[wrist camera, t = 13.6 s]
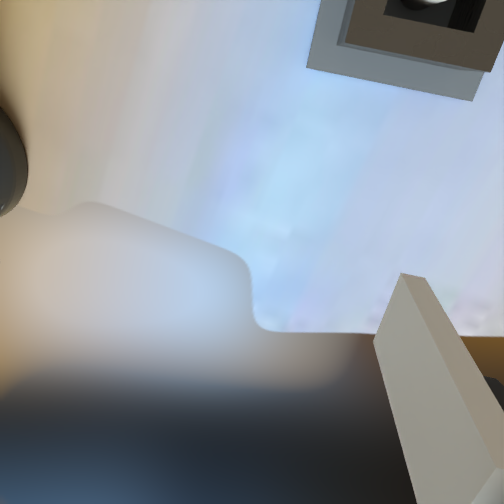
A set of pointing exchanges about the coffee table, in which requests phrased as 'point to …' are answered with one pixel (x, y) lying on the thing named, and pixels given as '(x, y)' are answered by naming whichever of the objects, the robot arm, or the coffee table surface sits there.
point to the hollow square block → (428, 34)
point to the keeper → (386, 67)
